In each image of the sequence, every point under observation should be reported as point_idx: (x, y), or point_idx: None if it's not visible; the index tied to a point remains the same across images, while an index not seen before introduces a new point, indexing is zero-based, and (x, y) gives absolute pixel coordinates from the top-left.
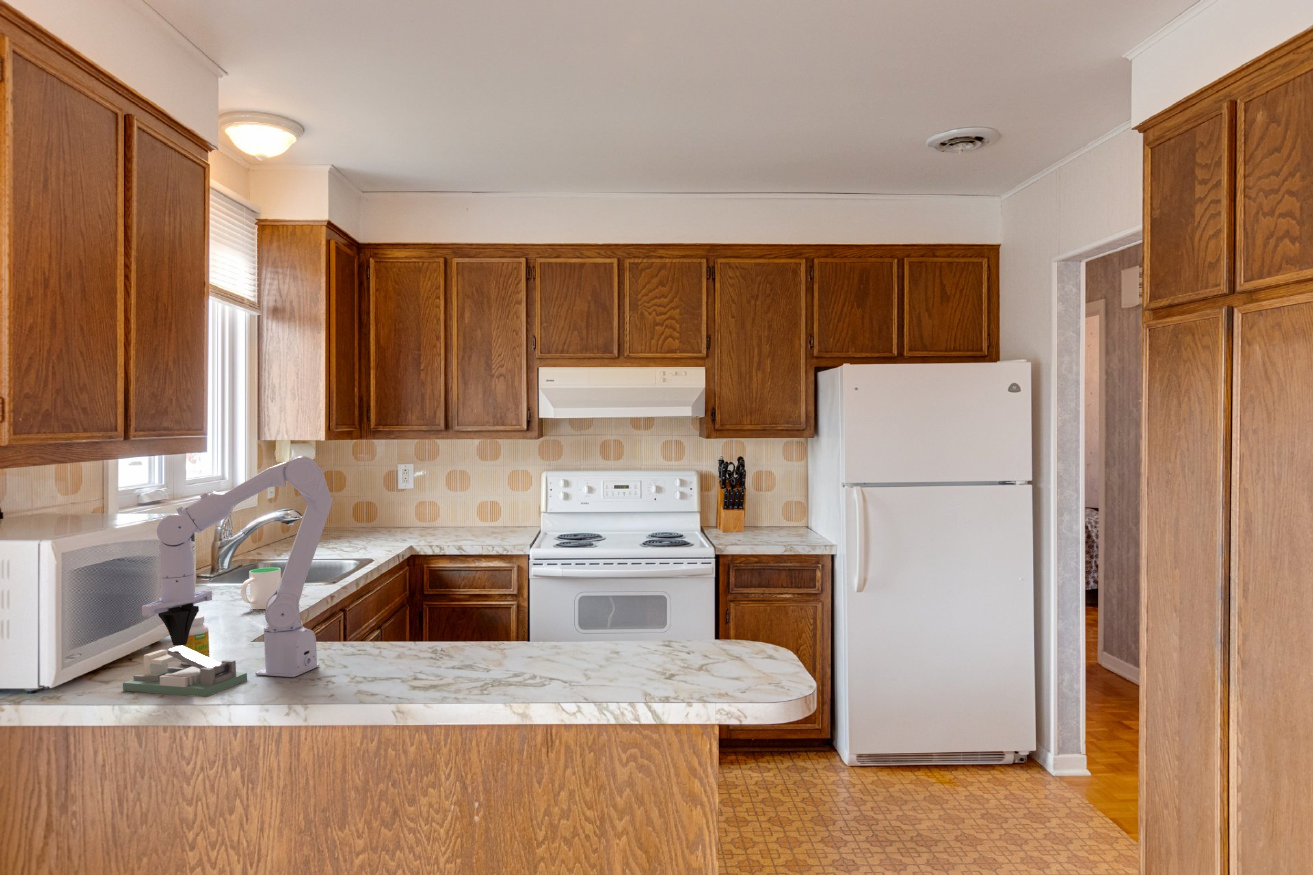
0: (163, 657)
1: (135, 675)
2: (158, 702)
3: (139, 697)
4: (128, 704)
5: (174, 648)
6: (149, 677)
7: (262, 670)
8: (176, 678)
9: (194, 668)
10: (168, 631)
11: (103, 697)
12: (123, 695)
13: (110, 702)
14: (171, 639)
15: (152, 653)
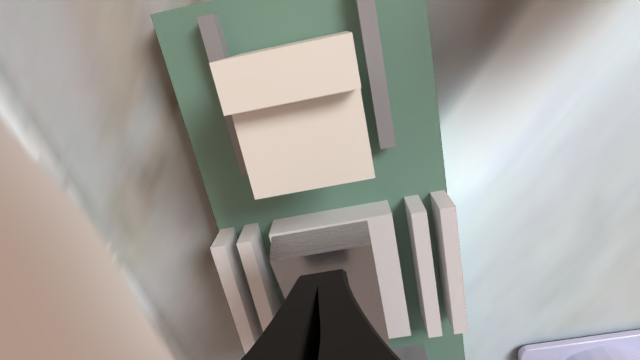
0: (295, 148)
1: (205, 23)
2: (171, 301)
3: (160, 186)
4: (100, 227)
5: (307, 263)
6: (227, 126)
7: (551, 356)
8: (237, 325)
9: (374, 254)
10: (258, 339)
11: (73, 33)
12: (136, 94)
13: (67, 138)
14: (287, 296)
15: (262, 79)
